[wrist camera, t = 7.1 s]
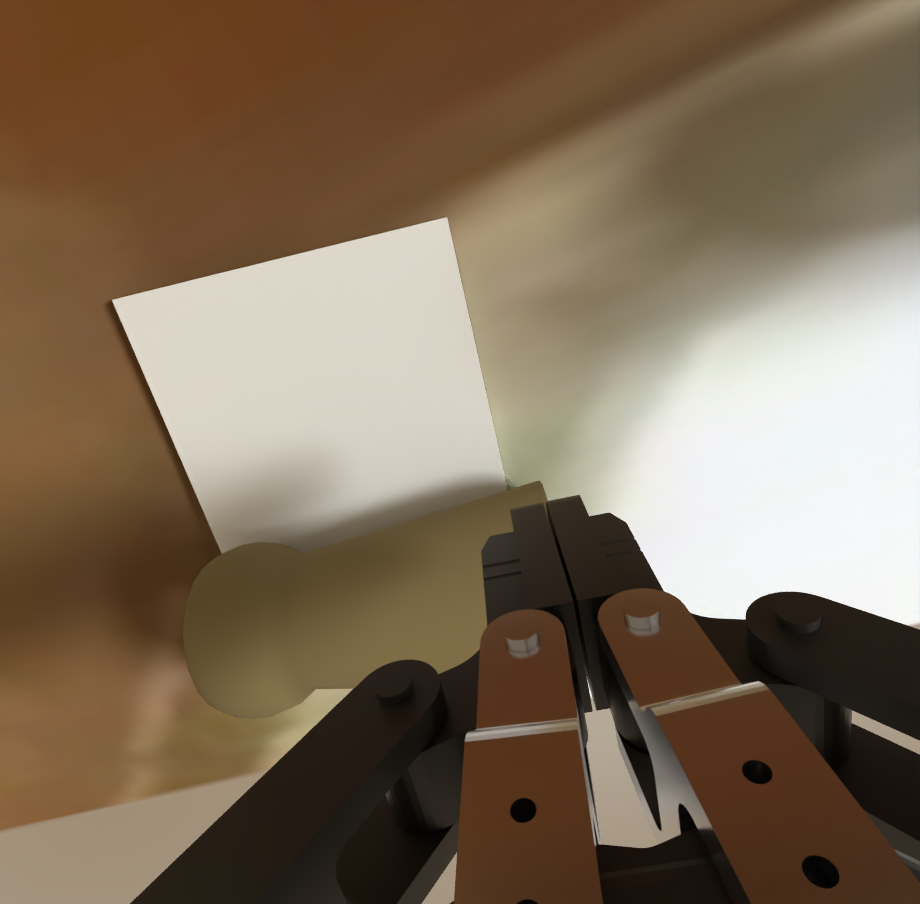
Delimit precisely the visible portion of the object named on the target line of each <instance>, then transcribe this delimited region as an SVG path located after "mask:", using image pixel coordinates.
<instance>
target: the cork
mask: <svg viewBox="0 0 920 904" xmlns="http://www.w3.org/2000/svg"><path fill="white" fill-rule="evenodd" d="M546 501H547V497H546V494H545V491H544V488H543V485H542V483H541V482H540V481H536V482H533V483H530V484H526V485H523V486H520V487H517V488H513V489H510V490H507V491H503V492H500V493H497V494H494V495H490V496H487V497H484V498H481V499H477V500H474V501H471V502H467V503H464V504H461V505H458V506H454V507H451V508H448V509H445V510H441V511H438V512H435V513H432V514H428V515H425V516H422V517H418V518H415V519H412V520H409V521H405V522H402V523H399V524H396V525H392V526H389V527H386V528H382V529H379V530H376V531H373V532H369V533H366V534H363V535H360V536H356V537H353V538H350V539H346V540H343V541H340V542H337V543H333V544H330V545H327V546H324V547H320V548H317V549H314V550H310V551H307V552H304V553H302V552H300V551H298V550H296V549H294V548H292V547H290V546H287V545H283V544H278V543H266V542H257V543H250V544H244V545H240V546H238V547H236V548H233V549H231V550H229V551H226V552H224V553H222V554H221V555H219V556H217V557H215V558H214V559H213V560H212V561H210V562H209V563H208V564H207V565H206V566H205V567H204V568H203V569H202V570H201V571H200V573H199V574H198V576H197V577H196V579H195V580H194V581H193V584H192V587H191V590H190V593H189V596H188V599H187V603H186V607H185V614H184V622H183V645H184V653H185V657H186V662H187V667H188V670H189V673H190V675H191V677H192V680H193V682H194V684H195V687H196V689H197V691H198V693H199V694H200V696H201V697H202V698H203V699H204V700H205V701H206V702H207V704H208V705H210V706H211V707H213V708H215V709H217V710H219V711H221V712H223V713H225V714H228V715H231V716H234V717H240V718H249V719H256V718H262V717H268V716H273V715H275V714H278V713H280V712H282V711H284V710H287V709H289V708H291V707H294V706H296V705H298V704H300V703H302V702H303V701H304V700H305V699H306V698H307V697H308V696H309V695H310V694H311V693H312V692H313V691H314V690H315V689H349V688H355V687H356V686H357V685H358V684H359V683H360V682H361V681H362V680H363V679H364V678H365V677H367V676H368V675H369V674H370V673H372V672H373V671H375V670H376V669H378V668H380V667H381V666H383V665H386V664H388V663H391V662H395V661H399V660H410V659H412V660H419V661H423V662H426V663H428V664H430V665H431V666H432V667H433V668H434V669H435V670H436V671H437V673H438V674H440V673H442V672H445V671H447V670H449V669H451V668H454V667H456V666H458V665H460V664H462V663H463V662H465V661H466V660H468V659H470V658H471V657H472V656H473V655H474V654H475V653H476V652H477V651H478V650H479V649H480V640H481V636H482V634H483V632H484V630H485V629H486V627H487V616H486V604H485V592H484V579H483V567H482V556H481V550H482V549H483V547H484V545H485V543H486V542H487V540H488V538H489V536H493V535H498V534H503V533H508V532H513V531H514V529H513V524H512V519H511V514H510V509H511V508H516V507H521V506H526V505H531V504H536V503H541V502H543V504H544V507H545V511H546V514H547V510H546ZM547 517H548V516H547Z"/></svg>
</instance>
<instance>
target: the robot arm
mask: <svg viewBox="0 0 920 904" xmlns="http://www.w3.org/2000/svg"><path fill="white" fill-rule="evenodd" d="M546 510H547V514H546V511H545V507H544V504H543V502H541V503H536V504H531V505H526V506H521V507H516V508H511V509H510V514H511V519H512V524H513V529H514V531H513V532H508V533H503V534H498V535H493V536H489V538H488V540H487V542H486V543H485V545H484V547H483V549H482V550H481V556H482V567H483V579H484V592H485V604H486V616H487V627H486V629H485V630H484V632H483V634H482V636H481V640H480V649H479V650H478V651H477V652H476V653H475V654H474V655H473V656H472V657H471V658H470V659H468V660H466V661H465V662H463V663H462V664H460V665H458V666H456V667H454V668H451V669H449V670H447V671H445V672H442V673H440V674H438V673H437V671H436V670H435V669H434V668H433V667H432V666H431V665H430V664H428V663H426V662H423V661H419V660H412V659H410V660H399V661H395V662H391V663H388V664H386V665H383V666H381V667H380V668H378V669H376V670H375V671H373V672H372V673H370V674H369V675H368V676H367V677H365V678H364V679H363V680H362V681H361V682H360V683H359V684H358V685H357V686H356V687H355V688H354V689H353V690H352V691H351V692H350V693H349V694H348V695H347V696H346V697H345V698H344V699H343V700H341V701H340V702H339V703H338V704H337V705H336V706H335V707H334V708H333V709H332V710H331V711H330V712H329V713H328V714H327V715H326V716H325V717H324V718H323V719H322V720H321V721H320V722H319V723H318V724H317V725H315V726H314V727H313V728H312V729H311V730H310V731H309V732H308V733H307V734H306V735H305V736H304V737H303V738H302V739H301V740H300V741H299V742H298V743H297V744H296V745H295V746H294V747H293V748H292V749H291V750H289V751H288V752H287V753H286V754H285V755H284V756H283V757H282V758H281V759H280V760H279V761H278V762H277V763H276V764H275V765H274V766H273V767H272V768H271V769H270V770H269V771H268V772H267V773H266V774H265V775H263V777H261V778H260V779H259V780H258V781H257V782H256V783H255V784H254V785H253V786H252V787H251V788H250V789H249V790H248V791H247V792H246V793H245V794H244V795H243V796H242V797H241V798H240V799H238V800H237V801H236V802H235V803H234V804H233V805H232V806H231V807H230V808H229V809H228V810H227V811H226V812H225V813H224V814H223V815H222V816H221V817H220V818H219V819H218V820H217V821H216V822H215V823H214V824H213V825H211V826H210V827H209V828H208V829H207V830H206V831H205V832H204V833H203V834H202V835H201V836H200V837H199V838H198V839H197V840H196V841H195V842H194V843H193V844H192V845H191V846H190V847H189V848H188V849H186V850H185V852H183V854H181V855H180V856H179V857H178V858H177V859H176V860H175V861H174V862H173V863H172V864H171V865H170V866H169V867H168V868H167V869H166V870H165V871H164V872H163V873H161V874H160V875H159V876H158V877H157V878H156V879H155V880H154V881H153V882H152V883H151V884H150V885H149V886H148V887H147V888H146V889H145V890H144V891H143V892H142V893H141V894H140V895H139V896H138V897H137V898H136V899H134V901H132V902H131V903H130V904H421V903H422V902H423V901H424V899H425V898H426V896H427V895H428V893H429V892H430V890H431V889H432V887H433V886H434V884H435V883H436V882H437V880H438V879H439V877H440V876H441V874H442V873H443V871H444V870H445V869H446V867H447V866H448V864H449V863H450V861H451V860H452V858H453V857H454V855H455V854H456V852H457V865H456V881H455V895H454V901H453V902H452V903H450V904H920V755H919V754H917V753H915V752H913V751H911V750H909V749H906V748H904V747H902V746H900V745H898V744H895V743H893V742H891V741H889V740H887V739H885V738H882V737H880V736H878V735H876V734H874V733H872V732H870V731H867V730H865V729H863V728H861V727H858V726H856V725H854V724H852V723H851V720H852V710H853V711H855V712H857V713H860V714H862V715H864V716H867V717H869V718H871V719H873V720H876V721H877V722H880V723H882V724H884V725H886V726H889V727H891V728H893V729H895V730H898V731H900V732H902V733H904V734H906V735H909V736H911V737H913V738H915V739H918V740H920V630H919V629H916V628H913V627H910V626H907V625H904V624H901V623H898V622H895V621H892V620H889V619H886V618H883V617H880V616H877V615H874V614H871V613H868V612H865V611H862V610H859V609H856V608H853V607H850V606H847V605H844V604H841V603H838V602H835V601H832V600H829V599H826V598H823V597H819V596H816V595H812V594H807V593H802V592H778V593H773V594H768V595H766V596H763V597H761V598H759V599H757V600H755V601H754V602H753V603H752V604H751V605H750V606H749V607H748V609H747V612H746V620H741V619H717V618H708V617H702V616H698V615H695V614H692V613H690V612H689V611H688V609H687V608H686V607H685V605H684V604H683V603H682V602H681V601H680V600H679V599H678V598H676V597H675V596H673V595H671V594H669V593H667V592H664V591H663V589H662V587H661V585H660V583H659V582H658V580H657V578H656V576H655V574H654V573H653V571H652V569H651V567H650V565H649V563H648V562H647V560H646V558H645V556H644V554H643V552H642V551H641V550H640V547H639V545H638V543H637V542H636V540H635V539H634V536H633V534H632V532H631V531H630V529H629V527H628V525H627V523H626V522H624V521H623V520H621V519H619V518H618V517H616V516H614V515H613V514H611V513H605V514H600V515H595V516H589V515H588V513H587V511H586V508H585V506H584V504H583V502H582V499H581V497H580V495H576V496H571V497H566V498H561V499H556V500H551V501H546ZM547 516H548V517H547ZM587 679H588V682H587ZM588 683H589V686H590V690H591V693H592V697H593V700H594V704H595V707H596V710H602V709H608V708H610V709H611V713H612V716H613V719H614V722H615V729H616V734H617V741H618V746H619V749H620V752H621V755H622V757H623V760H624V762H625V765H626V767H627V770H628V772H629V775H630V777H631V779H632V782H633V784H634V787H635V790H636V792H637V794H638V797H639V799H640V802H641V804H642V807H643V809H644V812H645V814H646V817H647V819H648V822H649V824H650V826H651V829H652V832H653V834H654V837H655V839H656V841H657V844H658V845H656V846H653V847H649V848H632V847H621V846H611V845H602V842H601V835H600V829H599V822H598V816H597V810H596V803H595V797H594V790H593V784H592V778H591V771H590V765H589V759H588V753H587V747H586V744H587V741H588V731H587V726H586V720H585V715H584V713H586V712H592V705H591V699H590V693H589V688H588ZM370 812H371V813H370ZM354 831H355V832H354Z"/></svg>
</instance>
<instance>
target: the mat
mask: <svg viewBox="0 0 920 904" xmlns="http://www.w3.org/2000/svg"><path fill="white" fill-rule="evenodd" d="M112 302H113V304H114V306H115V308H116V311H117V313H118V315H119V318H120V320H121V322H122V325H123V327H124V329H125V332H126V334H127V336H128V339H129V341H130V343H131V345H132V348H133V350H134V352H135V355H136V357H137V359H138V362H139V364H140V366H141V369H142V371H143V373H144V375H145V378H146V380H147V382H148V385H149V387H150V389H151V392H152V394H153V396H154V399H155V401H156V403H157V406H158V408H159V410H160V412H161V415H162V417H163V419H164V422H165V424H166V426H167V429H168V431H169V433H170V436H171V438H172V440H173V442H174V445H175V447H176V449H177V452H178V454H179V456H180V459H181V461H182V463H183V466H184V468H185V470H186V473H187V475H188V477H189V479H190V482H191V484H192V486H193V489H194V491H195V493H196V496H197V498H198V500H199V503H200V505H201V507H202V509H203V512H204V514H205V516H206V519H207V521H208V523H209V526H210V528H211V530H212V533H213V535H214V537H215V540H216V542H217V544H218V546H219V549H220V551H221V553H224V552H226V551H229V550H231V549H233V548H236V547H238V546H240V545H244V544H250V543H257V542H266V543H278V544H283V545H287V546H290V547H292V548H294V549H296V550H298V551H300V552H302V553H304V552H307V551H310V550H314V549H317V548H320V547H324V546H327V545H330V544H333V543H337V542H340V541H343V540H346V539H350V538H353V537H356V536H360V535H363V534H366V533H369V532H373V531H376V530H379V529H382V528H386V527H389V526H392V525H396V524H399V523H402V522H405V521H409V520H412V519H415V518H418V517H422V516H425V515H428V514H432V513H435V512H438V511H441V510H445V509H448V508H451V507H454V506H458V505H461V504H464V503H467V502H471V501H474V500H477V499H481V498H484V497H487V496H490V495H494V494H497V493H500V492H503V491H507V490H508V489H507V485H506V480H505V476H504V471H503V467H502V462H501V458H500V453H499V449H498V444H497V440H496V435H495V431H494V426H493V422H492V417H491V413H490V408H489V404H488V399H487V395H486V390H485V386H484V381H483V377H482V372H481V368H480V363H479V359H478V354H477V350H476V345H475V341H474V336H473V332H472V327H471V323H470V318H469V314H468V309H467V305H466V300H465V296H464V291H463V287H462V282H461V278H460V273H459V269H458V264H457V260H456V255H455V251H454V246H453V242H452V237H451V233H450V228H449V224H448V219H447V217H445V218H441V219H437V220H433V221H429V222H425V223H421V224H417V225H413V226H409V227H405V228H401V229H397V230H393V231H389V232H385V233H381V234H377V235H372V236H368V237H364V238H360V239H356V240H352V241H348V242H344V243H340V244H336V245H332V246H328V247H324V248H320V249H316V250H312V251H308V252H304V253H300V254H296V255H292V256H288V257H283V258H279V259H275V260H271V261H267V262H263V263H259V264H255V265H251V266H247V267H243V268H239V269H235V270H231V271H227V272H223V273H219V274H215V275H211V276H207V277H203V278H199V279H195V280H190V281H186V282H182V283H178V284H174V285H170V286H166V287H162V288H158V289H154V290H150V291H146V292H142V293H138V294H134V295H130V296H126V297H122V298H118V299H114V300H112Z"/></svg>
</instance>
